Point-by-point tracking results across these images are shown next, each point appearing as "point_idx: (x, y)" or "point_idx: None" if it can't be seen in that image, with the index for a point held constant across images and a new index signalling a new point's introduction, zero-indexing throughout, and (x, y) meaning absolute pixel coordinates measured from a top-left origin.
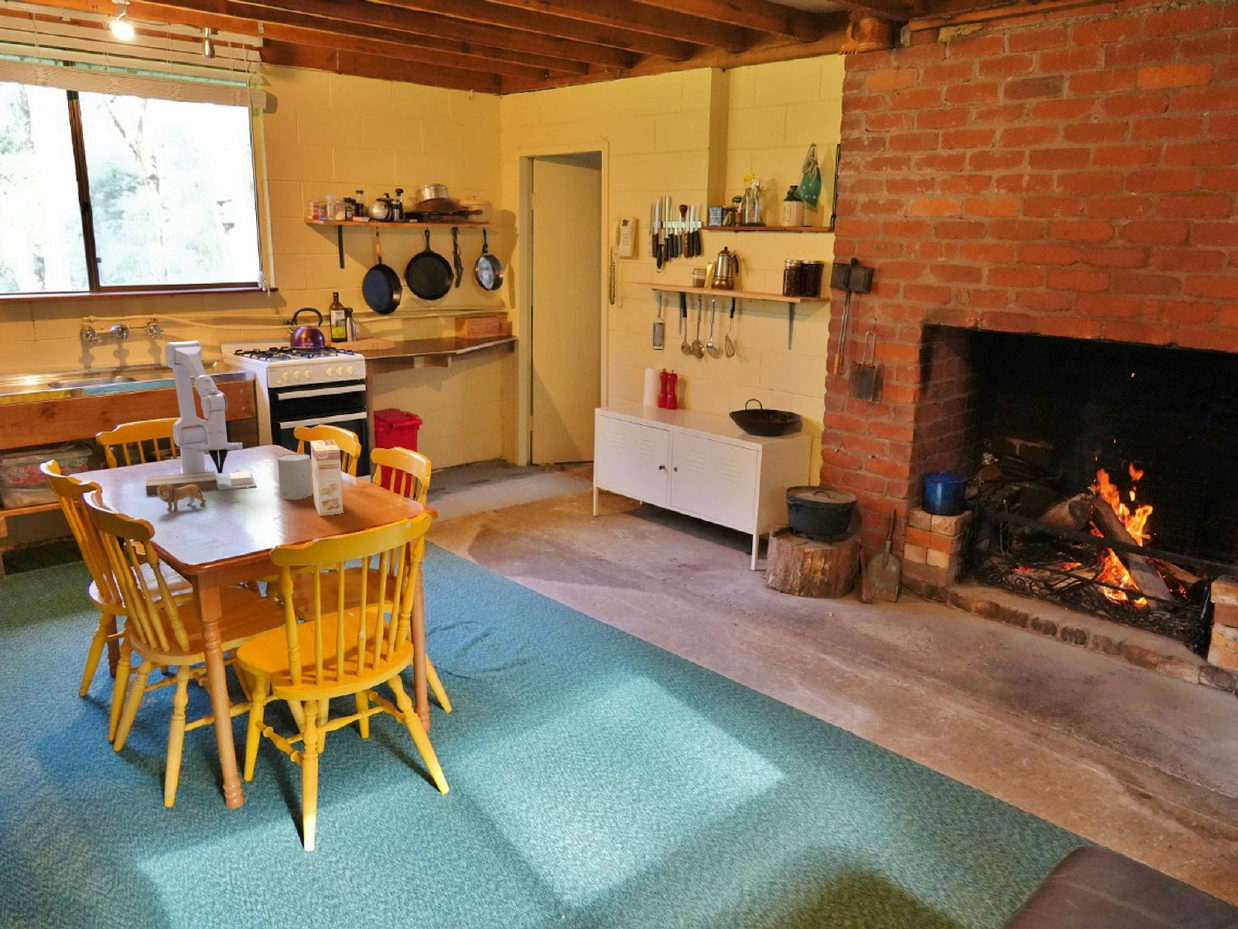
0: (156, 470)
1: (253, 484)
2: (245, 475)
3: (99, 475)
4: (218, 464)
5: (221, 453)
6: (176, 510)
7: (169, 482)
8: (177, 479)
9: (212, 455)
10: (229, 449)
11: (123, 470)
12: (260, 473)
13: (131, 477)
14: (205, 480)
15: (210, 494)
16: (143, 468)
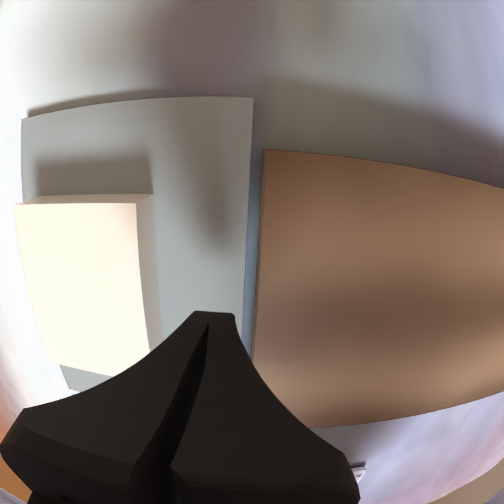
0: (397, 494)
1: (30, 155)
2: (44, 270)
3: (499, 454)
4: (211, 359)
5: (83, 464)
6: None
7: None
8: (496, 299)
9: (312, 464)
10: (12, 502)
11: (449, 487)
12: (49, 392)
13: (476, 446)
14: (366, 176)
15: (323, 29)
16: (410, 501)
